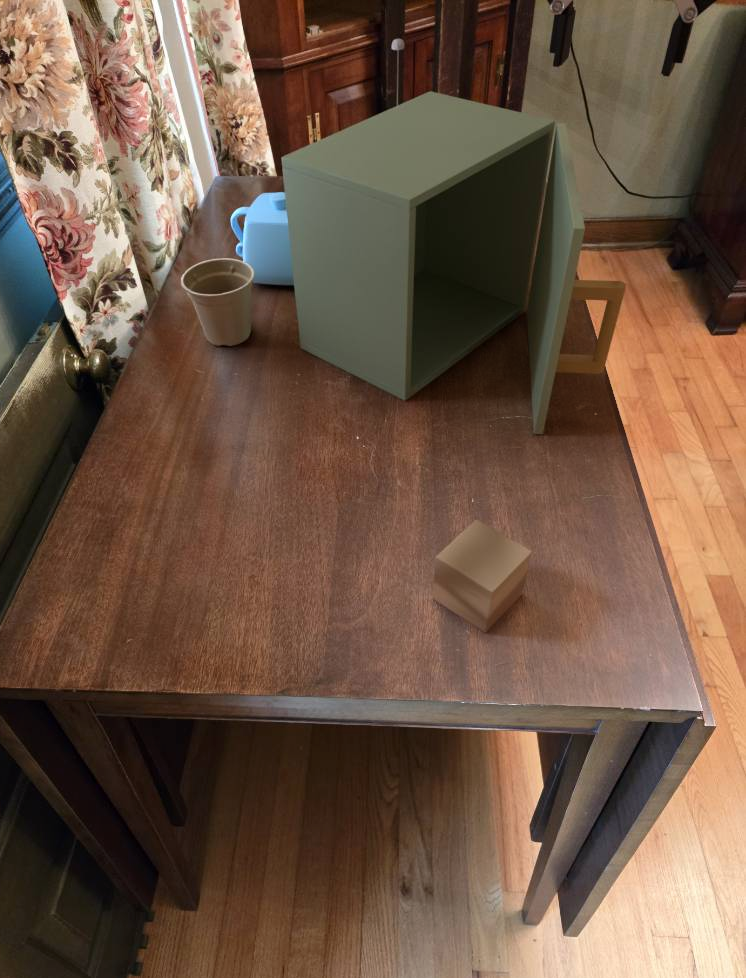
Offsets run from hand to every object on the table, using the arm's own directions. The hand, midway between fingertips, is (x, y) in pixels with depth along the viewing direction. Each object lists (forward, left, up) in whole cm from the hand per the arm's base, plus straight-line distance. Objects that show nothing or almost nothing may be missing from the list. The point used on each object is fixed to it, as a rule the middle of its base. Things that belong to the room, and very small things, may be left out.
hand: (612, 67), depth 67 cm
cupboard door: (-1, 0, -33) cm, 33 cm away
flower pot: (+38, +21, -33) cm, 54 cm away
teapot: (+43, +3, -33) cm, 54 cm away
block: (-14, +35, -33) cm, 50 cm away
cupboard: (+19, +4, -33) cm, 38 cm away
